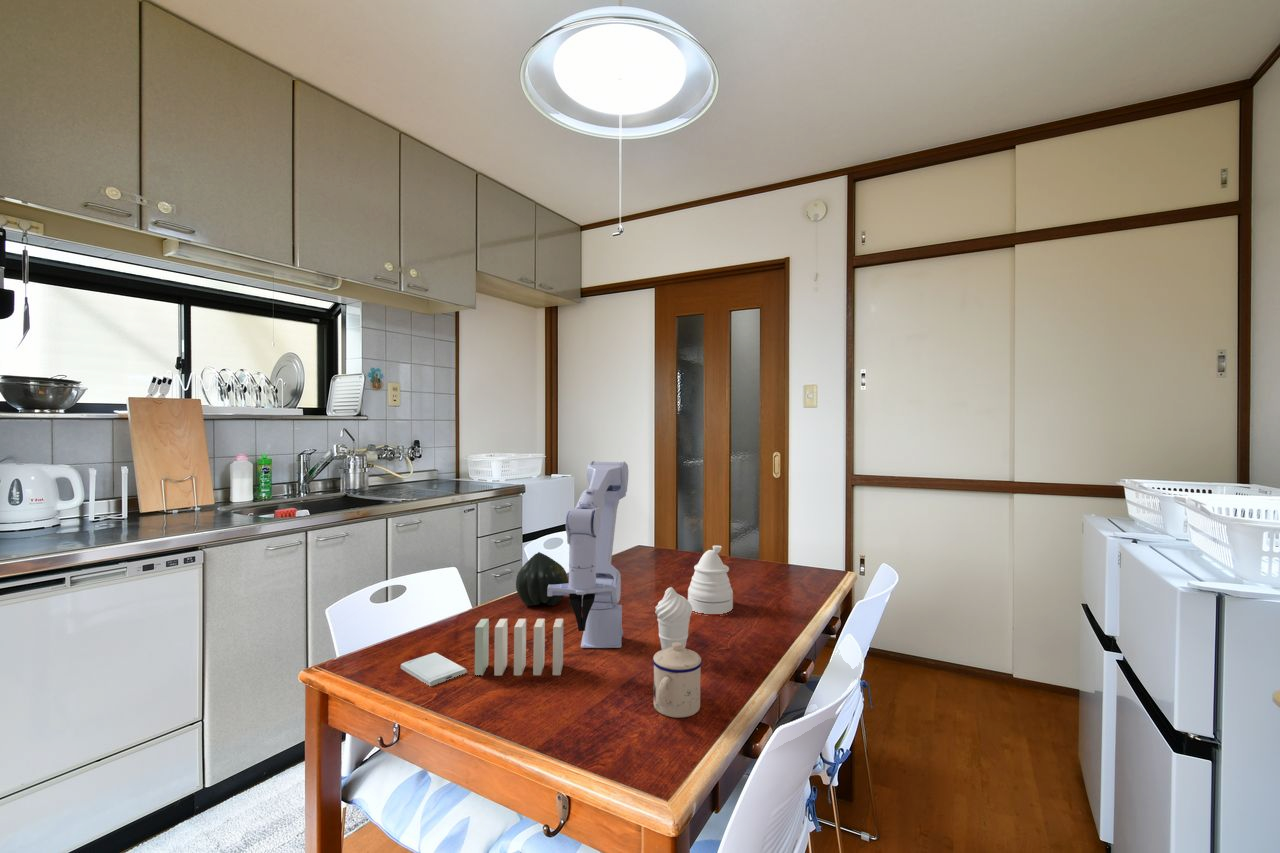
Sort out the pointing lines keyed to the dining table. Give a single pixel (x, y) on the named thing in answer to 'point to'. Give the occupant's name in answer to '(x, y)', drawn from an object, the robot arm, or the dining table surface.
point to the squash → (539, 580)
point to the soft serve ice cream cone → (673, 618)
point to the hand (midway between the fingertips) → (581, 629)
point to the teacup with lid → (677, 681)
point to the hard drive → (433, 669)
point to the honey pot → (711, 585)
